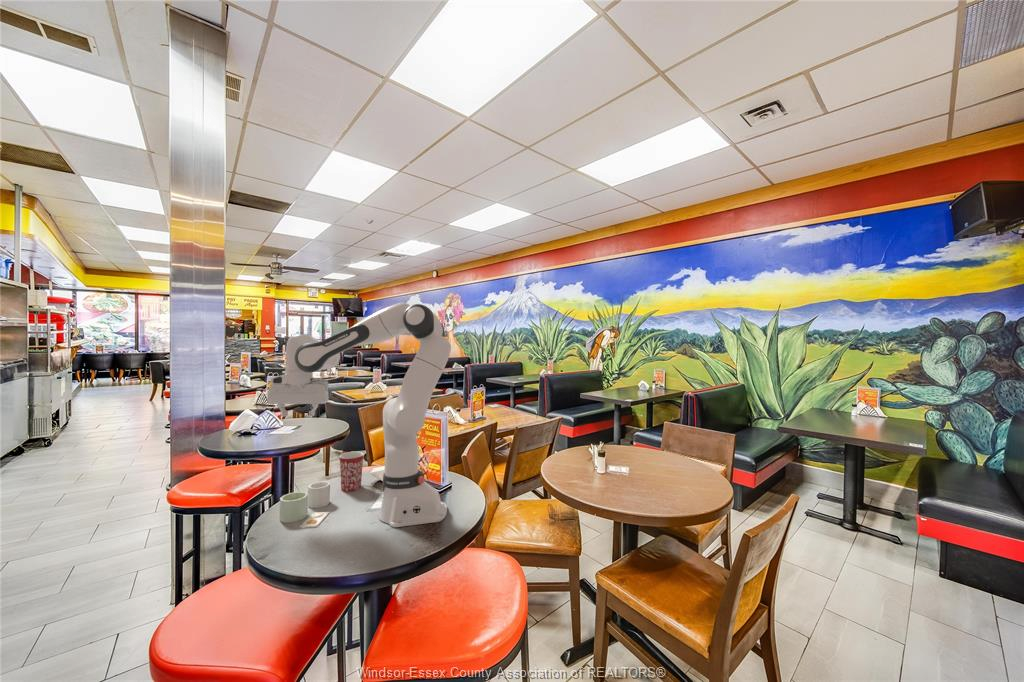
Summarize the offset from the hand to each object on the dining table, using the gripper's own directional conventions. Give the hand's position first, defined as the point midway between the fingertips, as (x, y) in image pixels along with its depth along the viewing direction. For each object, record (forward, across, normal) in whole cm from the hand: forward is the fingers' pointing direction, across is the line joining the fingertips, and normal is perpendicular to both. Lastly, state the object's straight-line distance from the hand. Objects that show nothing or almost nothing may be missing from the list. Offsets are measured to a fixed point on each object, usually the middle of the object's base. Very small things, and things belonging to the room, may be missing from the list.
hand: (298, 416), depth 135 cm
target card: (+31, -13, +16) cm, 37 cm away
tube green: (+31, -5, +13) cm, 34 cm away
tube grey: (+31, -9, +3) cm, 33 cm away
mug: (+31, -16, -13) cm, 38 cm away
